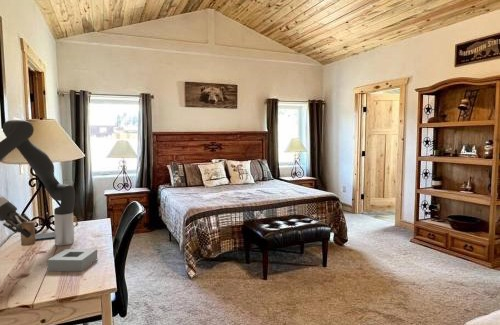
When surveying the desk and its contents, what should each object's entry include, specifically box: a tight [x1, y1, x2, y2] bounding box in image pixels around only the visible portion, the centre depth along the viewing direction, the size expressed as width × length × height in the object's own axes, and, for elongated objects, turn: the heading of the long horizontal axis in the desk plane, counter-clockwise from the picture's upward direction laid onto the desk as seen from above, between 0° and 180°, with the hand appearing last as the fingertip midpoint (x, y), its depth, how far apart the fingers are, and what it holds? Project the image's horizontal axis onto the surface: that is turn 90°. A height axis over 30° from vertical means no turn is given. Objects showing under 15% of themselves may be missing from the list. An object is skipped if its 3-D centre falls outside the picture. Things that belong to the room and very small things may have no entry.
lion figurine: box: [73, 215, 79, 226], centre depth 220 cm, size 15×5×9 cm, turn 154°
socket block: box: [46, 248, 98, 272], centre depth 151 cm, size 15×15×5 cm
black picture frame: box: [35, 231, 55, 242], centre depth 194 cm, size 20×2×15 cm
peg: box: [20, 220, 36, 247], centre depth 140 cm, size 5×5×10 cm
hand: (32, 234), depth 140 cm, fingers closed on peg, 5 cm apart
